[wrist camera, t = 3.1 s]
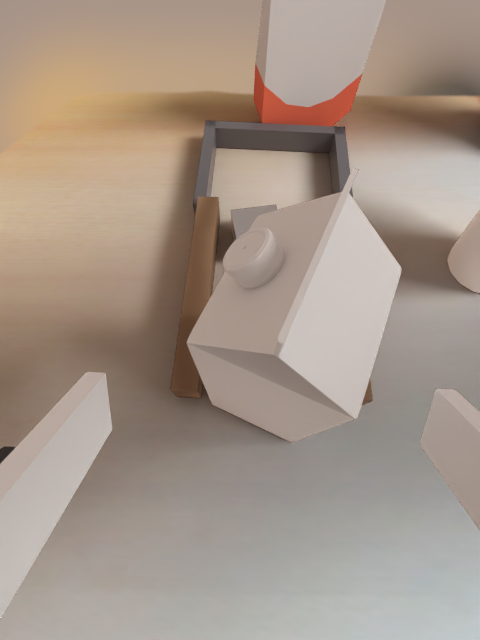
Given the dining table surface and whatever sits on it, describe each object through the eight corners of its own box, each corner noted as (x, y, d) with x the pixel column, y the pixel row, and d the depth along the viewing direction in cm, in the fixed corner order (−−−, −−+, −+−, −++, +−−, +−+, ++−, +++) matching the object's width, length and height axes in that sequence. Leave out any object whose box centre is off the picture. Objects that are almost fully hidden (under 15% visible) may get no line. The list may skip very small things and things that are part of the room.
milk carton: (321, 364, 28) (461, 201, 10) (291, 443, 25) (414, 400, 8) (246, 332, 29) (261, 137, 12) (211, 404, 26) (162, 292, 9)
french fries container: (252, 118, 41) (262, -112, 25) (332, 107, 42) (394, -121, 26) (260, 142, 39) (277, -89, 23) (344, 130, 40) (418, -99, 24)
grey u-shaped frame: (338, 146, 39) (344, 126, 37) (346, 228, 34) (354, 211, 32) (207, 140, 39) (205, 120, 37) (195, 221, 34) (193, 203, 32)
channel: (341, 224, 34) (350, 204, 31) (358, 407, 26) (372, 400, 24) (201, 217, 34) (198, 196, 32) (177, 396, 27) (170, 388, 24)
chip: (272, 225, 34) (276, 204, 32) (281, 260, 32) (285, 241, 30) (231, 230, 34) (230, 210, 31) (238, 265, 32) (238, 247, 29)
